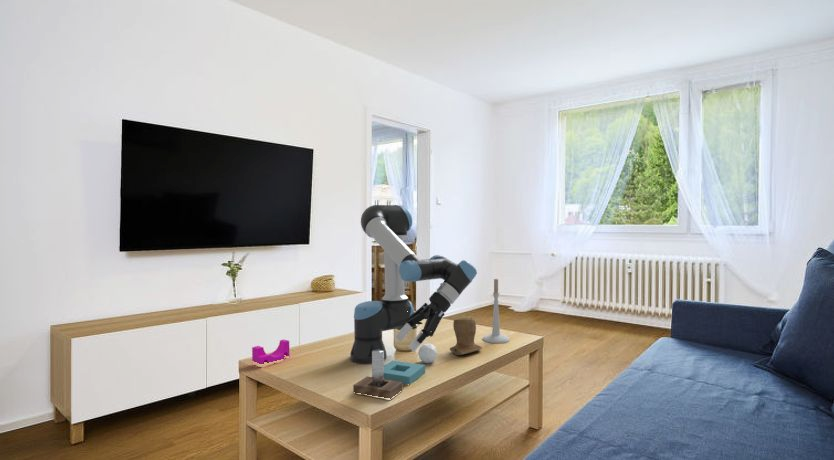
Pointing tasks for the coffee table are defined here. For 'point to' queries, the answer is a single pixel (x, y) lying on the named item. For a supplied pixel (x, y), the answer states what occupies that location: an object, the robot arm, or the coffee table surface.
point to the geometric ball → (427, 353)
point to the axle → (378, 368)
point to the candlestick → (496, 321)
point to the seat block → (403, 371)
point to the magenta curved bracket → (278, 354)
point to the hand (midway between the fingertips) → (403, 344)
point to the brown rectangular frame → (378, 388)
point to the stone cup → (464, 336)
